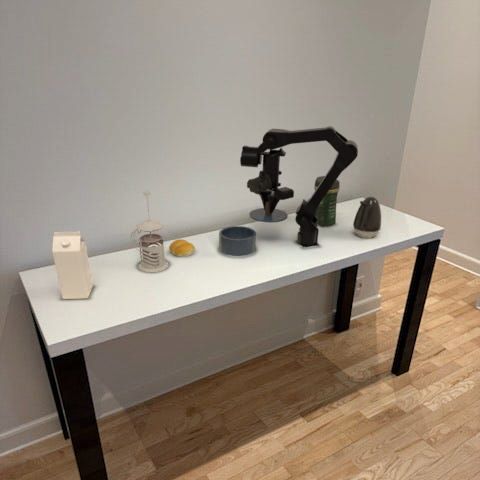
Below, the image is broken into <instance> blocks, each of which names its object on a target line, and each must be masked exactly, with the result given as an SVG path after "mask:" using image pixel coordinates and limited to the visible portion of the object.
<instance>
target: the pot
mask: <svg viewBox="0 0 480 480" xmlns="http://www.w3.org/2000/svg"><path fill="white" fill-rule="evenodd" d="M256 242H257V231H256V230H255V229H253V228H251V227H247V226H243V225H232V226H227V227H224V228H222V229H220V230H219V232H218V250H219V252H221V253H223V255H227V256H232V257H244V256H248V255H249V256H250V255H251V254H254V253H255V252H256V249H257V248H256V245H257V243H256Z"/></svg>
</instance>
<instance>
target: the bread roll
mask: <svg viewBox="0 0 480 480" xmlns="http://www.w3.org/2000/svg"><path fill="white" fill-rule="evenodd" d="M168 250H169V251H170V253H172V255H175V256H176V257H179V258H182V257H184V258H185V257H190V256H191V255H194V254H195V251H196V247H195V245H194V244H193V243H191V242H189V241H188V240H186V239H181V238H180V239H175V240H174V241H173V242H171V243H170V244H169V247H168Z"/></svg>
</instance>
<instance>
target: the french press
mask: <svg viewBox="0 0 480 480" xmlns="http://www.w3.org/2000/svg"><path fill="white" fill-rule="evenodd" d="M150 195H151V193H150V191H149V190H144V191H143V196H146V203H147V205H146V206H149V199H148V198H149V197H148V196H150ZM149 208H150V207H147V214H148V217H150V209H149ZM163 227H164V225H163V223H161V222H159V221H158V220H155V219H154V220H152V219H150V218H148V220H143V221H141V222H139V223H138V224H137V225H136V229H134V230H133V231H132V232H131V234H130V242H131V244H132V247H133V248H134V249H135V250H137V251H138V252H139V257H140V263H139V264H138V266H137V267H138V269H139V270H140V271H142V272H144V273H145V272H146V273H158V272H161V271H162V272H163V271H164V270H166V269H168V267H169V262H167V261H166V258H165V244H164V240H163V236H162V235H160V234H157V233H154V232H157V231H160V230H162V229H163ZM136 231H137V234H141V233H142V232H144V233H147V234H143V235H141V236H140V237H139V238H138V239H139V242H138V244H137V242H136V240H135V238H132V236H133V237H135V234H136ZM148 233H149V234H148ZM133 241H134V242H133ZM134 244H135V245H136V246H137V247H138V248H137V247H136V246H135V245H134Z"/></svg>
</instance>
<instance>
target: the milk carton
mask: <svg viewBox="0 0 480 480" xmlns="http://www.w3.org/2000/svg"><path fill="white" fill-rule="evenodd" d="M52 234H53V237H52V238H53V240H52V249H51V252H52V257H53V262H54V266H55V270H56V275H57V281H58V284H59V289H60V294H61V298H62V300H74V299H75V300H76V299H77V300H78V299H81V300H83V299H88V298H89V297H90V294H91V292H92V290H93V287H94V285H93V284H94V283H93V278H92V273H91V267H90V262H89V256H88V255H89V254H88V249H87V243H86V240H85V238H84V237H83V236H82V235H81V231H54V232H52Z"/></svg>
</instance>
